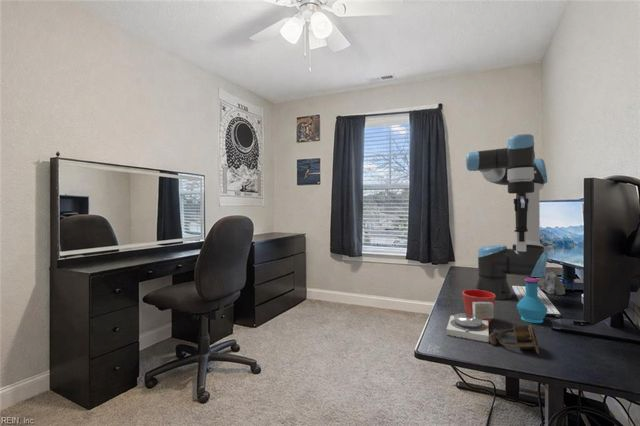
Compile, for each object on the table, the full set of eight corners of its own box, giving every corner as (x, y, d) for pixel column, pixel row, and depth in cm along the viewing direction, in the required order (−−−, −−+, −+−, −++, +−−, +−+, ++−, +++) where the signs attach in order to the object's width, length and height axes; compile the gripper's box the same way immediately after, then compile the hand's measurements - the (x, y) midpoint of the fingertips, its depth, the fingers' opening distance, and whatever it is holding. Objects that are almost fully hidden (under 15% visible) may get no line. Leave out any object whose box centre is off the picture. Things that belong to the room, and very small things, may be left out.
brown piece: (534, 341, 81) (546, 324, 87) (484, 323, 91) (498, 309, 97) (533, 364, 82) (545, 346, 88) (484, 344, 92) (498, 329, 98)
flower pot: (500, 325, 105) (500, 298, 105) (466, 323, 107) (466, 296, 107) (490, 315, 116) (489, 289, 115) (459, 313, 118) (459, 288, 118)
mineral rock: (537, 287, 154) (537, 267, 154) (564, 290, 147) (564, 269, 147) (536, 293, 144) (536, 272, 143) (565, 296, 137) (565, 274, 137)
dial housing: (450, 320, 111) (450, 314, 111) (488, 326, 105) (488, 319, 105) (446, 335, 98) (446, 327, 98) (488, 342, 93) (488, 334, 92)
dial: (461, 328, 97) (460, 307, 97) (450, 319, 106) (450, 299, 106) (499, 328, 97) (499, 306, 97) (485, 318, 106) (485, 298, 105)
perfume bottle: (543, 317, 113) (543, 277, 112) (550, 326, 104) (550, 282, 104) (514, 313, 116) (514, 275, 116) (519, 322, 108) (518, 280, 108)
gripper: (537, 179, 94) (537, 254, 95) (531, 182, 106) (532, 249, 106) (508, 180, 98) (509, 253, 98) (506, 183, 109) (507, 248, 110)
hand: (521, 251), depth 102 cm, fingers closed
